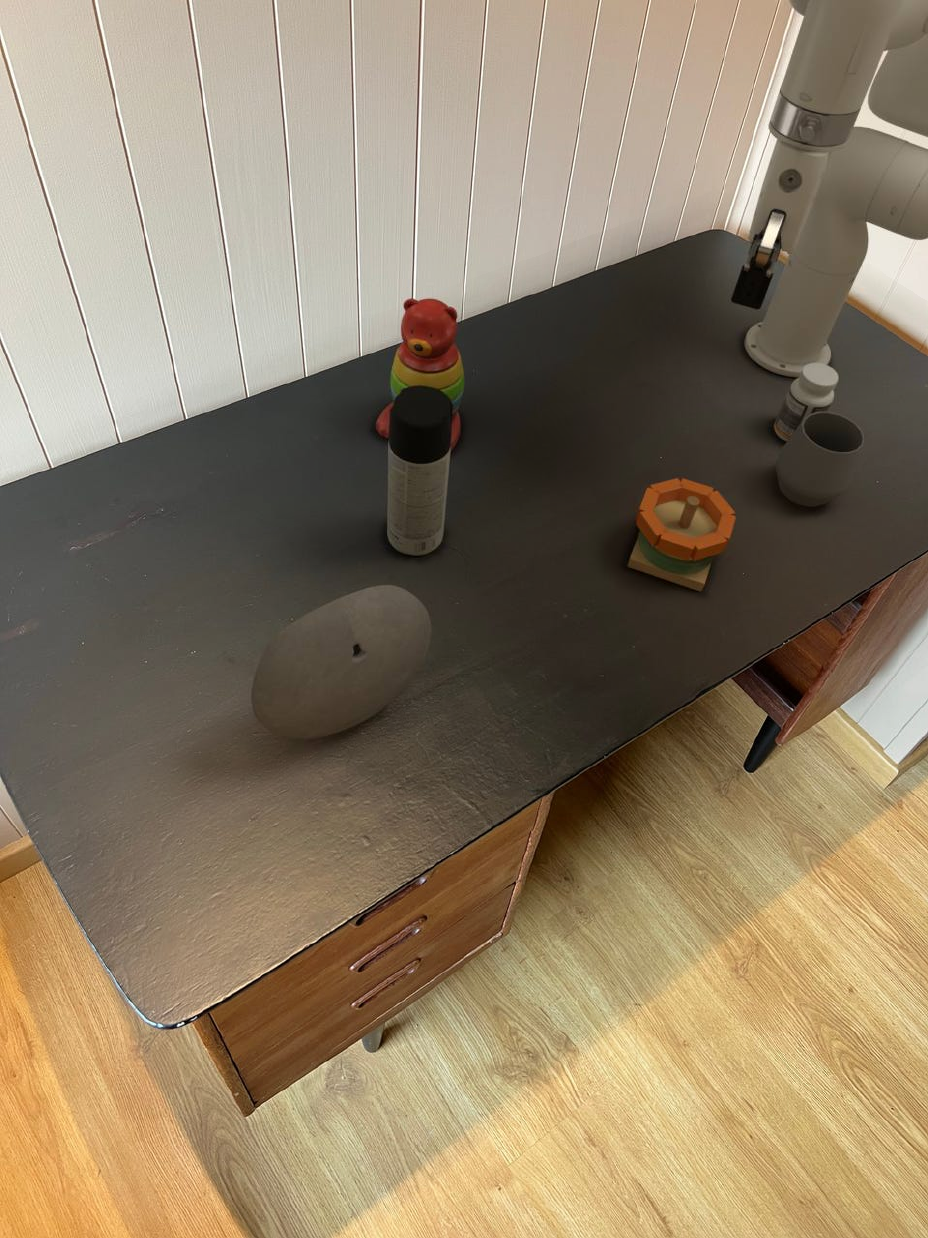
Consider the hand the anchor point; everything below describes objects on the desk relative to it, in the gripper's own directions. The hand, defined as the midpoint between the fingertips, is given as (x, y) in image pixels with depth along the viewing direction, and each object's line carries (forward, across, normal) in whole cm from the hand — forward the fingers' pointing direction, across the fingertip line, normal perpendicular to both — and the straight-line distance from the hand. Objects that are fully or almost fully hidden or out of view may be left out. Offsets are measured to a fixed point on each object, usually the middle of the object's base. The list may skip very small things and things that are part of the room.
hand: (753, 281), depth 99 cm
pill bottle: (+26, +12, -12) cm, 31 cm away
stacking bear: (+26, -9, +34) cm, 44 cm away
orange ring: (+21, -17, -2) cm, 27 cm away
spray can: (+26, -28, +27) cm, 47 cm away
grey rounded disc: (+26, -54, +23) cm, 64 cm away
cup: (+26, +1, -15) cm, 30 cm away
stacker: (+26, -17, -2) cm, 31 cm away
